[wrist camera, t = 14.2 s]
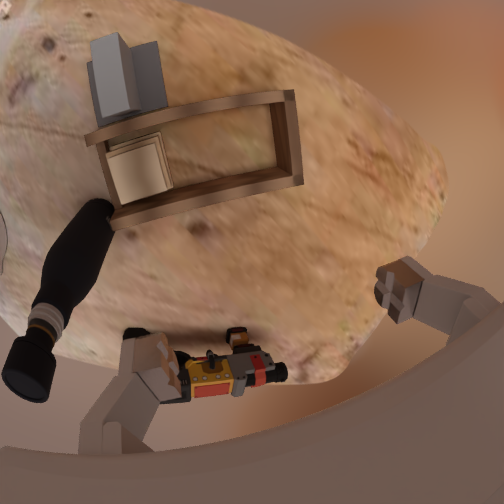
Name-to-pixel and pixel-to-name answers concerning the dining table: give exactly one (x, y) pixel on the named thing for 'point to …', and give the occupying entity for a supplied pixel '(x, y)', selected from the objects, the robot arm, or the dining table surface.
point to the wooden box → (214, 190)
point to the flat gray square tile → (138, 82)
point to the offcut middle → (141, 143)
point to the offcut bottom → (143, 139)
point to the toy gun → (223, 368)
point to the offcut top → (137, 173)
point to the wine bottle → (59, 299)
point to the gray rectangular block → (114, 76)
